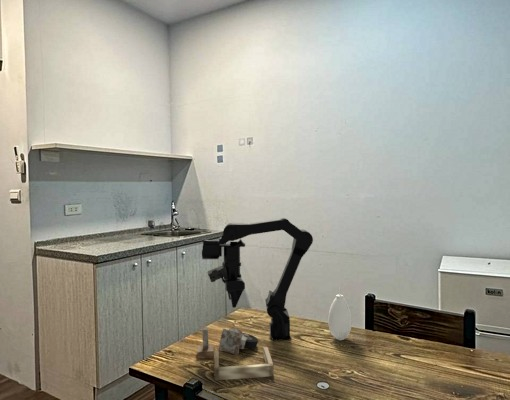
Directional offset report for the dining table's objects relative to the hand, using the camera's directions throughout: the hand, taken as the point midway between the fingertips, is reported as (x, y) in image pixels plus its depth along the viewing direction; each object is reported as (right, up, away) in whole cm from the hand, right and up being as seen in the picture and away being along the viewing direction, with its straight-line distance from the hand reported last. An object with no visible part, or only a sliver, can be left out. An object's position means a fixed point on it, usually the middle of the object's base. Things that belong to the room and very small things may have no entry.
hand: (232, 303), depth 127 cm
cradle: (+4, -13, -21) cm, 25 cm away
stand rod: (-8, -13, -12) cm, 19 cm away
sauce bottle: (+37, -12, -2) cm, 39 cm away
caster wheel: (+3, -13, -8) cm, 15 cm away
